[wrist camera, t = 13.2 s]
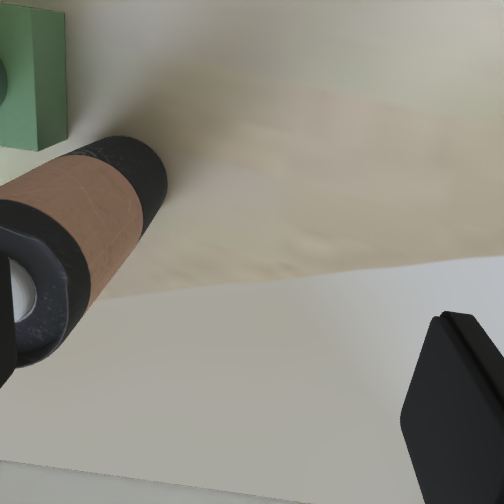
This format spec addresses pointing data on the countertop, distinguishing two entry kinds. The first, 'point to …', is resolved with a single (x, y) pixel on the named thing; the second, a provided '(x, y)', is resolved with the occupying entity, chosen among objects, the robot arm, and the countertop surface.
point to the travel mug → (74, 234)
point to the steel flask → (2, 82)
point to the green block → (33, 78)
